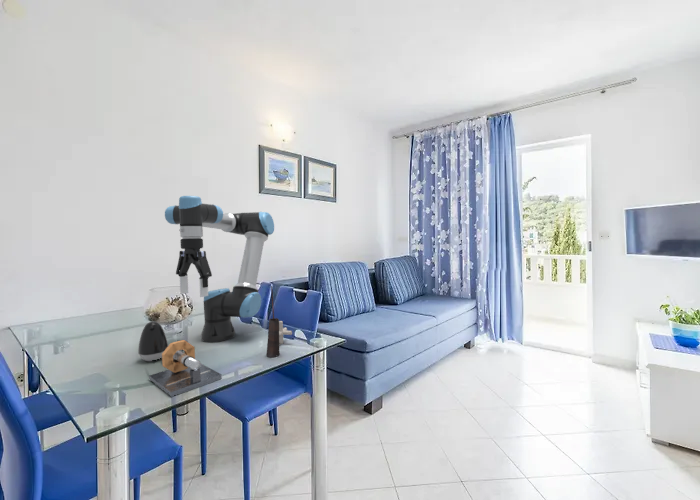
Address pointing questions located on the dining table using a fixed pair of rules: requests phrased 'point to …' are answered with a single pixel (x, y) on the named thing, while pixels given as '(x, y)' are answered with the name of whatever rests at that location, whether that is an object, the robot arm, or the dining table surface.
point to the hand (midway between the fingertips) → (194, 294)
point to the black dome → (152, 342)
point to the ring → (171, 350)
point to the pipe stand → (185, 376)
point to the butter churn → (273, 335)
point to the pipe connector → (283, 332)
